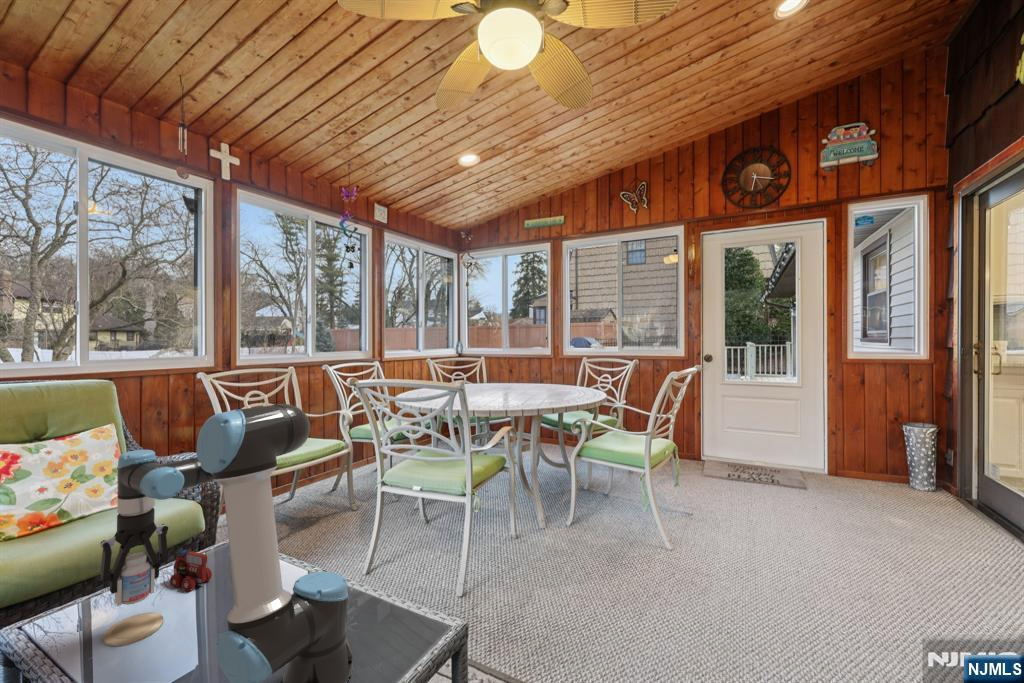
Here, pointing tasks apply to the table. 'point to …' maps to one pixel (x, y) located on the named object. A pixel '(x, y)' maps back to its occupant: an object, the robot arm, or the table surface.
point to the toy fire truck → (190, 570)
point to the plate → (133, 629)
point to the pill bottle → (135, 578)
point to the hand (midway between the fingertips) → (134, 597)
